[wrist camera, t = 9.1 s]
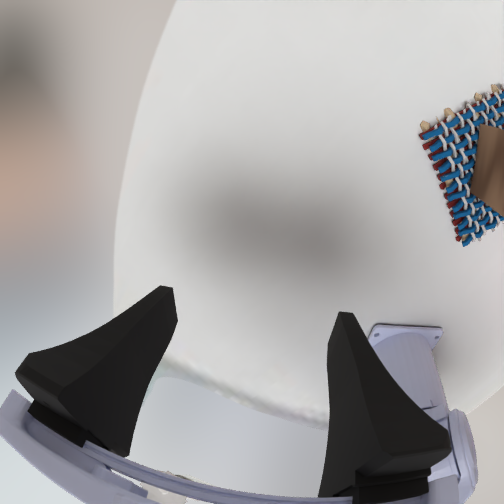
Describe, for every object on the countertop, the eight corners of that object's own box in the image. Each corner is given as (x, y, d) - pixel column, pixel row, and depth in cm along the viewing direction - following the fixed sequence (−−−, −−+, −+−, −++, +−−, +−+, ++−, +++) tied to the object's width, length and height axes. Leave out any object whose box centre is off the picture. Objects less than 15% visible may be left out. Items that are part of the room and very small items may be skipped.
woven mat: (531, 189, 14) (544, 197, 12) (454, 242, 18) (464, 254, 17) (499, 77, 11) (514, 78, 9) (408, 125, 15) (420, 128, 13)
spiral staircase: (184, 465, 75) (179, 476, 87) (136, 466, 68) (139, 477, 80) (196, 508, 60) (188, 511, 72) (144, 511, 53) (147, 513, 65)
